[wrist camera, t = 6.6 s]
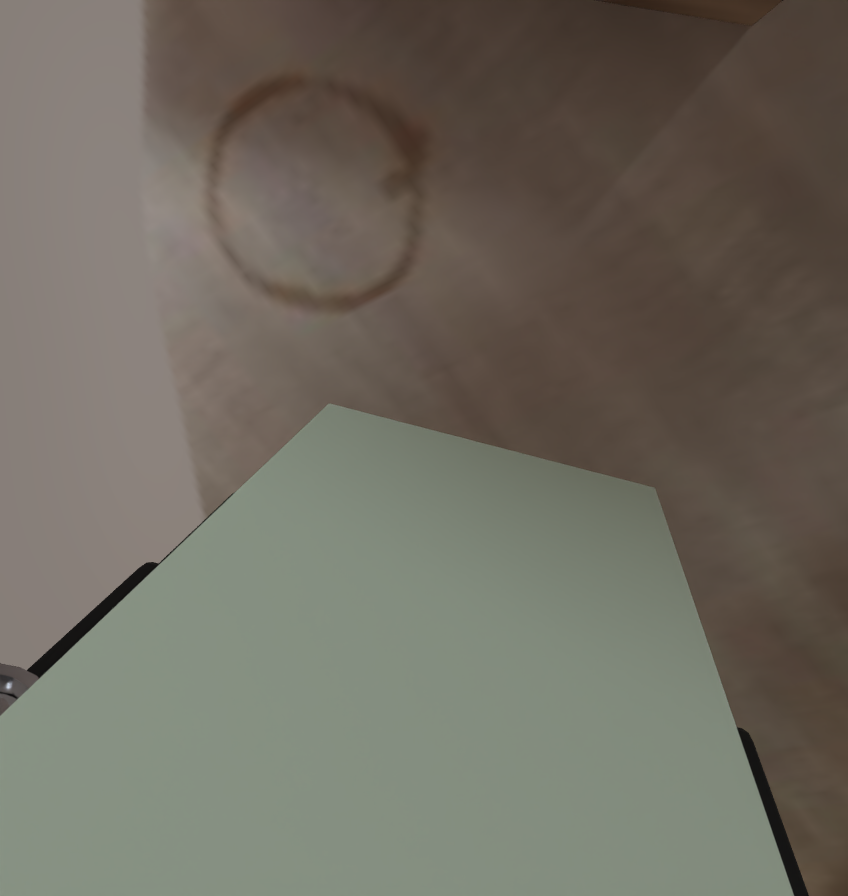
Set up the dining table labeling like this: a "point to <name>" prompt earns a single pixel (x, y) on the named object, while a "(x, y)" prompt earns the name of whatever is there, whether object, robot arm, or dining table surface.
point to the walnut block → (709, 8)
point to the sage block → (393, 696)
